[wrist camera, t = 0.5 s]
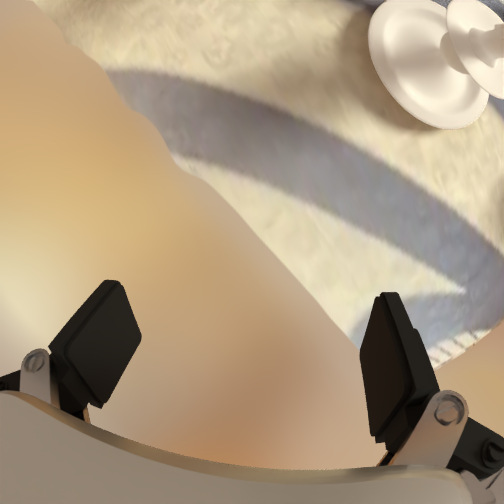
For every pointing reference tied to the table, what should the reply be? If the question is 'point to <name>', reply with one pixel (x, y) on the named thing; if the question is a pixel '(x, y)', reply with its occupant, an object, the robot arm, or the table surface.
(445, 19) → the candlestick
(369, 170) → the table surface
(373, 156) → the table surface
